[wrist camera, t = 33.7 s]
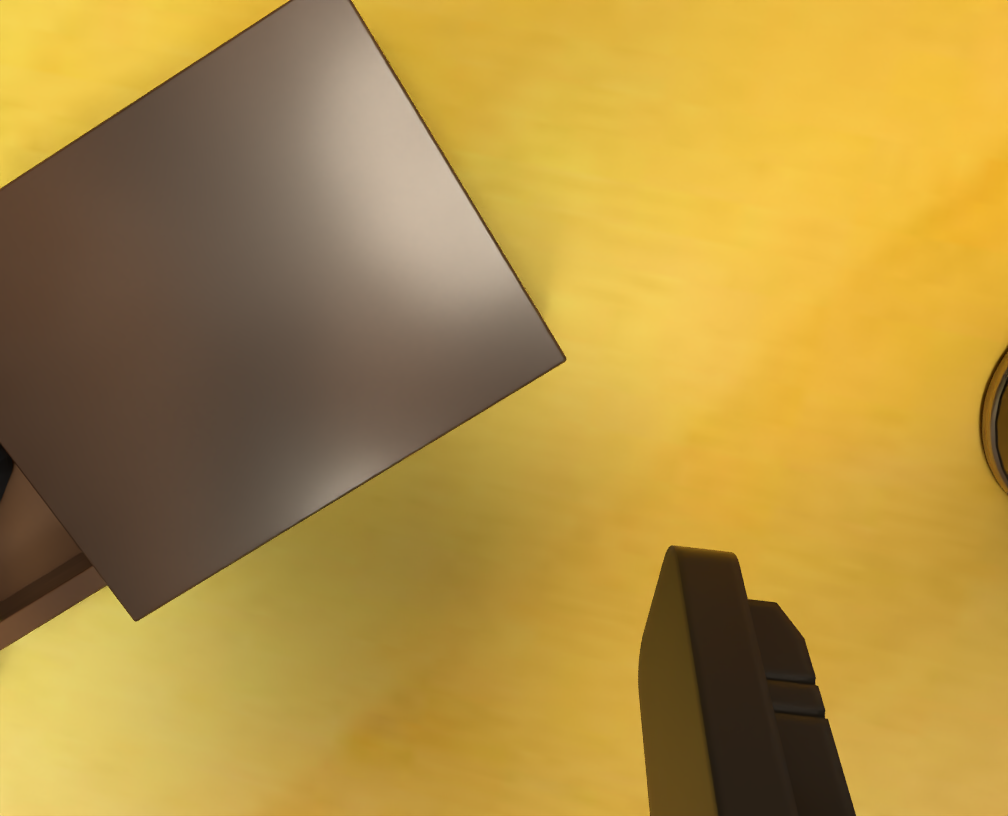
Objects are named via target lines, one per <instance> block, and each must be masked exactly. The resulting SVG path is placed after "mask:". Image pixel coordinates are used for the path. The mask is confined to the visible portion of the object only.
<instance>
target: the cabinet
mask: <svg viewBox="0 0 1008 816" xmlns="http://www.w3.org/2000/svg"><path fill="white" fill-rule="evenodd" d="M565 361H566V356H565V355H564V353H563V351H562V350H561V348H560V346H559V345H558V343H557V341H556V340H555V338H554V336H553V335H552V333H551V331H550V330H549V328H548V327H547V325H546V323H545V322H544V320H543V318H542V317H541V315H540V313H539V312H538V310H537V308H536V307H535V305H534V303H533V302H532V300H531V298H530V297H529V295H528V293H527V292H526V290H525V288H524V287H523V285H522V283H521V282H520V280H519V278H518V277H517V275H516V273H515V272H514V270H513V268H512V267H511V265H510V263H509V262H508V260H507V258H506V257H505V255H504V253H503V252H502V250H501V248H500V247H499V245H498V243H497V242H496V240H495V238H494V237H493V235H492V233H491V232H490V230H489V228H488V227H487V225H486V223H485V222H484V220H483V218H482V217H481V215H480V213H479V212H478V210H477V208H476V207H475V205H474V203H473V202H472V200H471V198H470V197H469V195H468V193H467V192H466V190H465V188H464V187H463V185H462V184H461V182H460V180H459V179H458V177H457V175H456V174H455V172H454V170H453V169H452V167H451V165H450V164H449V162H448V160H447V159H446V157H445V155H444V154H443V152H442V150H441V149H440V147H439V145H438V144H437V142H436V140H435V139H434V137H433V135H432V134H431V132H430V130H429V129H428V127H427V125H426V124H425V122H424V120H423V119H422V117H421V115H420V114H419V112H418V110H417V109H416V107H415V105H414V104H413V102H412V100H411V99H410V97H409V95H408V94H407V92H406V90H405V89H404V87H403V85H402V84H401V82H400V80H399V79H398V77H397V75H396V74H395V72H394V70H393V69H392V67H391V65H390V64H389V62H388V60H387V59H386V57H385V55H384V54H383V52H382V50H381V49H380V47H379V46H378V44H377V42H376V41H375V39H374V37H373V36H372V34H371V32H370V31H369V29H368V27H367V26H366V24H365V22H364V21H363V19H362V17H361V16H360V14H359V12H358V11H357V9H356V7H355V6H354V4H353V2H352V1H351V0H290V1H288V2H287V3H285V4H283V5H282V6H280V7H279V8H277V9H276V10H274V11H273V12H271V13H270V14H268V15H267V16H265V17H263V18H262V19H260V20H259V21H257V22H256V23H254V24H253V25H251V26H250V27H248V28H247V29H245V30H243V31H242V32H240V33H239V34H237V35H236V36H234V37H233V38H231V39H230V40H228V41H227V42H225V43H223V44H222V45H220V46H219V47H217V48H216V49H214V50H213V51H211V52H210V53H208V54H207V55H205V56H204V57H202V58H200V59H199V60H197V61H196V62H194V63H193V64H191V65H190V66H188V67H187V68H185V69H184V70H182V71H180V72H179V73H177V74H176V75H174V76H173V77H171V78H170V79H168V80H167V81H165V82H164V83H162V84H160V85H159V86H157V87H156V88H154V89H153V90H151V91H150V92H148V93H147V94H145V95H144V96H142V97H140V98H139V99H137V100H136V101H134V102H133V103H131V104H130V105H128V106H127V107H125V108H124V109H122V110H120V111H119V112H117V113H116V114H114V115H113V116H111V117H110V118H108V119H107V120H105V121H104V122H102V123H100V124H99V125H97V126H96V127H94V128H93V129H91V130H90V131H88V132H87V133H85V134H84V135H82V136H80V137H79V138H77V139H76V140H74V141H73V142H71V143H70V144H68V145H67V146H65V147H64V148H62V149H60V150H59V151H57V152H56V153H54V154H53V155H51V156H50V157H48V158H47V159H45V160H44V161H42V162H40V163H39V164H37V165H36V166H34V167H33V168H31V169H30V170H28V171H27V172H25V173H24V174H22V175H21V176H19V177H17V178H16V179H14V180H13V181H11V182H10V183H8V184H7V185H5V186H4V187H2V188H1V189H0V444H1V445H2V447H3V448H4V449H5V451H6V452H7V453H8V455H9V456H10V457H11V459H12V460H13V461H14V462H15V464H16V465H17V466H18V468H19V469H20V470H21V472H22V473H23V474H24V476H25V477H26V478H27V480H28V481H29V482H30V484H31V485H32V486H33V488H34V489H35V490H36V492H37V493H38V494H39V496H40V497H41V498H42V500H43V501H44V502H45V503H46V505H47V506H48V507H49V509H50V510H51V511H52V513H53V514H54V515H55V517H56V518H57V519H58V521H59V522H60V523H61V525H62V526H63V527H64V529H65V530H66V531H67V533H68V534H69V535H70V537H71V538H72V539H73V541H74V542H75V543H76V545H77V546H78V547H79V548H80V550H81V551H82V552H83V554H84V555H85V556H86V558H87V559H88V560H89V562H90V563H91V564H92V566H93V567H94V568H95V570H96V571H97V572H98V574H99V575H100V576H101V578H102V579H103V580H104V582H105V583H106V584H107V586H108V587H109V588H110V589H111V591H112V592H113V593H114V595H115V596H116V597H117V599H118V600H119V601H120V603H121V604H122V605H123V607H124V608H125V609H126V611H127V612H128V613H129V615H130V616H131V617H132V619H133V620H134V621H139V620H140V619H142V618H144V617H145V616H147V615H148V614H150V613H152V612H153V611H155V610H157V609H158V608H160V607H162V606H163V605H165V604H167V603H168V602H170V601H172V600H173V599H175V598H176V597H178V596H180V595H181V594H183V593H185V592H186V591H188V590H190V589H191V588H193V587H195V586H196V585H198V584H200V583H201V582H203V581H205V580H206V579H208V578H209V577H211V576H213V575H214V574H216V573H218V572H219V571H221V570H223V569H224V568H226V567H228V566H229V565H231V564H233V563H234V562H236V561H237V560H239V559H241V558H242V557H244V556H246V555H247V554H249V553H251V552H252V551H254V550H256V549H257V548H259V547H261V546H262V545H264V544H265V543H267V542H269V541H270V540H272V539H274V538H275V537H277V536H279V535H280V534H282V533H284V532H285V531H287V530H289V529H290V528H292V527H293V526H295V525H297V524H298V523H300V522H302V521H303V520H305V519H307V518H308V517H310V516H312V515H313V514H315V513H317V512H318V511H320V510H322V509H323V508H325V507H326V506H328V505H330V504H331V503H333V502H335V501H336V500H338V499H340V498H341V497H343V496H345V495H346V494H348V493H350V492H351V491H353V490H354V489H356V488H358V487H359V486H361V485H363V484H364V483H366V482H368V481H369V480H371V479H373V478H374V477H376V476H378V475H379V474H381V473H382V472H384V471H386V470H387V469H389V468H391V467H392V466H394V465H396V464H397V463H399V462H401V461H402V460H404V459H406V458H407V457H409V456H410V455H412V454H414V453H415V452H417V451H419V450H420V449H422V448H424V447H425V446H427V445H429V444H430V443H432V442H434V441H435V440H437V439H438V438H440V437H442V436H443V435H445V434H447V433H448V432H450V431H452V430H453V429H455V428H457V427H458V426H460V425H462V424H463V423H465V422H467V421H468V420H470V419H471V418H473V417H475V416H476V415H478V414H480V413H481V412H483V411H485V410H486V409H488V408H490V407H491V406H493V405H495V404H496V403H498V402H499V401H501V400H503V399H504V398H506V397H508V396H509V395H511V394H513V393H514V392H516V391H518V390H519V389H521V388H523V387H524V386H526V385H527V384H529V383H531V382H532V381H534V380H536V379H537V378H539V377H541V376H542V375H544V374H546V373H547V372H549V371H551V370H552V369H554V368H555V367H557V366H559V365H560V364H562V363H564V362H565Z"/></svg>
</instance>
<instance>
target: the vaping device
mask: <svg viewBox="0 0 1008 816" xmlns="http://www.w3.org/2000/svg"><path fill="white" fill-rule="evenodd" d="M12 465H13V464H12V459H11V457H10V456H9V455H8V453H7V452H6V451H5V449H4V448H3V447H2V445H1V444H0V501H1V498H2V496H3V493H4V491H5V488H6V485H7V483H8V480H9V478H10V475H11V472H12Z"/></svg>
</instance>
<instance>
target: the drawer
mask: <svg viewBox="0 0 1008 816" xmlns="http://www.w3.org/2000/svg"><path fill="white" fill-rule="evenodd" d="M12 464H13V465H12V472H11V475H10V478H9V480H8V483H7V485H6V488H5V491H4V493H3V496H2V498H1V501H0V650H2V649H4V648H5V647H7V646H9V645H10V644H12V643H13V642H15V641H17V640H18V639H20V638H22V637H23V636H25V635H27V634H28V633H30V632H31V631H33V630H35V629H36V628H38V627H40V626H41V625H43V624H45V623H46V622H48V621H49V620H51V619H53V618H54V617H56V616H58V615H59V614H61V613H63V612H64V611H66V610H67V609H69V608H71V607H72V606H74V605H76V604H77V603H79V602H81V601H82V600H84V599H85V598H87V597H89V596H90V595H92V594H94V593H95V592H97V591H99V590H100V589H102V588H103V587H105V586H107V584H106V583H105V582H104V580H103V579H102V578H101V576H100V575H99V574H98V572H97V571H96V570H95V568H94V567H93V566H92V564H91V563H90V562H89V560H88V559H87V558H86V556H85V555H84V554H83V552H82V551H81V550H80V548H79V547H78V546H77V545H76V543H75V542H74V541H73V539H72V538H71V537H70V535H69V534H68V533H67V531H66V530H65V529H64V527H63V526H62V525H61V523H60V522H59V521H58V519H57V518H56V517H55V515H54V514H53V513H52V511H51V510H50V509H49V507H48V506H47V505H46V503H45V502H44V501H43V500H42V498H41V497H40V496H39V494H38V493H37V492H36V490H35V489H34V488H33V486H32V485H31V484H30V482H29V481H28V480H27V478H26V477H25V476H24V474H23V473H22V472H21V470H20V469H19V468H18V466H17V465H16V464H15V462H14V461H13V460H12Z"/></svg>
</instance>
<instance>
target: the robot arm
mask: <svg viewBox="0 0 1008 816" xmlns="http://www.w3.org/2000/svg"><path fill="white" fill-rule="evenodd" d="M982 437H983V445H984V450H985V454H986V457H987V461H988V464H989V466H990V468H991V471H992V473H993V475H994V476H995V478H996V480H997V482H998V483H999V484H1000V486H1001V487H1002V489H1003V490H1004V491H1005V492H1006V493H1007V494H1008V352H1007V353H1006V355H1005V356H1004V358H1003V359H1002V361H1001V362H1000V364H999V366H998V368H997V369H996V371H995V373H994V375H993V378H992V380H991V383H990V385H989V388H988V391H987V395H986V398H985V403H984V408H983V416H982ZM815 679H816V677H815V673H814V670H813V667H812V663H811V660H810V656H809V653H808V649H807V646H806V643H805V639H804V638H803V636H802V635H801V634H800V632H799V631H798V630H797V628H796V627H795V626H794V625H793V623H792V622H791V621H790V619H789V618H788V617H787V616H786V614H785V613H784V612H783V610H782V609H781V608H780V606H779V605H778V604H777V603H776V602H767V601H758V600H750V599H747V595H746V591H745V586H744V582H743V578H742V574H741V569H740V565H739V562H738V559H737V557H736V555H735V554H734V553H732V552H724V551H715V550H707V549H698V548H690V547H681V546H673V545H672V546H670V547H669V548H668V550H667V552H666V554H665V557H664V560H663V564H662V568H661V571H660V575H659V579H658V582H657V586H656V589H655V593H654V597H653V600H652V604H651V608H650V611H649V615H648V618H647V622H646V626H645V629H644V633H643V637H642V642H641V648H640V656H639V670H638V688H639V700H640V711H641V722H642V732H643V743H644V754H645V765H646V776H647V787H648V798H649V809H650V816H856V814H855V811H854V807H853V804H852V800H851V797H850V793H849V790H848V787H847V783H846V780H845V776H844V773H843V769H842V766H841V763H840V759H839V756H838V752H837V749H836V745H835V742H834V739H833V735H832V732H831V728H830V725H829V721H828V719H825V708H824V704H823V701H822V697H821V694H820V691H819V687H818V686H816V685H815Z"/></svg>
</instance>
